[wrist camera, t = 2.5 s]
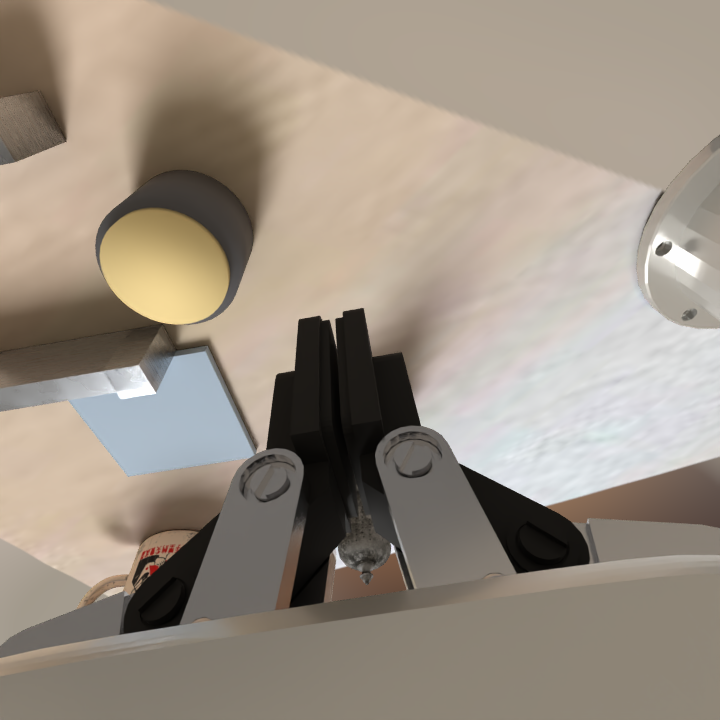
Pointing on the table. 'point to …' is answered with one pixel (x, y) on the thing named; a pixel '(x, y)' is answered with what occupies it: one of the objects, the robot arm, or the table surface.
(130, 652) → the robot arm
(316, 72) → the table surface
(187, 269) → the grey and yellow cylinder
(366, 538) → the dark grey turned post
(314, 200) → the table surface
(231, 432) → the mat
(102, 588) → the teacup with lid
